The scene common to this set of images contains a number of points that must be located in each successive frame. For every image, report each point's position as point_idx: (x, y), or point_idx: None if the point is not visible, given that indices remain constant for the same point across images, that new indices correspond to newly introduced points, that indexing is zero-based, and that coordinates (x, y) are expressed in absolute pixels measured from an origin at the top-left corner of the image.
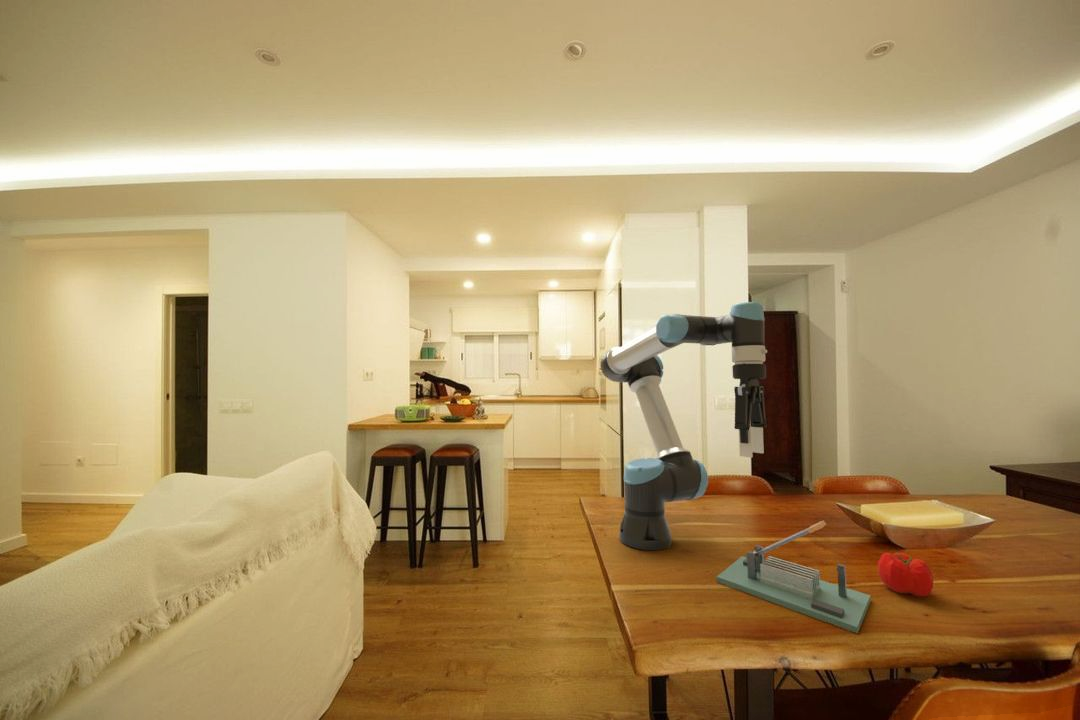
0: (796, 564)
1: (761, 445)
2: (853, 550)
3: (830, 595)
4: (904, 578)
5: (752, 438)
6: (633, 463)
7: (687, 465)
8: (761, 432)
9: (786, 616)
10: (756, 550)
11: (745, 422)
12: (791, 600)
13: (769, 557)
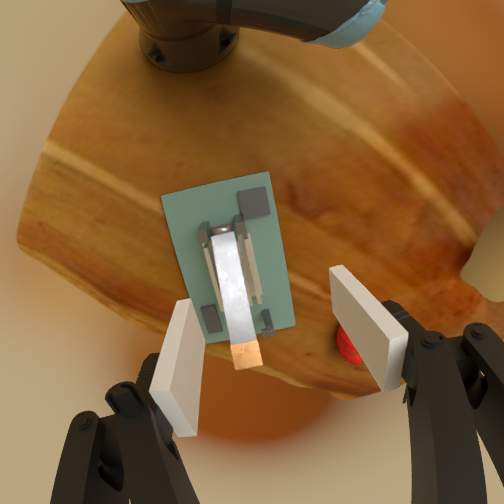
0: (254, 277)
1: (345, 327)
2: (432, 248)
3: (253, 304)
4: (339, 347)
5: (356, 307)
6: None
7: None
8: (371, 372)
9: (168, 291)
10: (228, 230)
11: (105, 473)
12: (194, 287)
13: (244, 241)
